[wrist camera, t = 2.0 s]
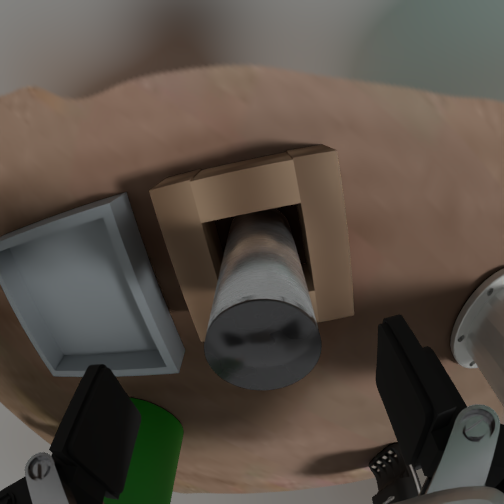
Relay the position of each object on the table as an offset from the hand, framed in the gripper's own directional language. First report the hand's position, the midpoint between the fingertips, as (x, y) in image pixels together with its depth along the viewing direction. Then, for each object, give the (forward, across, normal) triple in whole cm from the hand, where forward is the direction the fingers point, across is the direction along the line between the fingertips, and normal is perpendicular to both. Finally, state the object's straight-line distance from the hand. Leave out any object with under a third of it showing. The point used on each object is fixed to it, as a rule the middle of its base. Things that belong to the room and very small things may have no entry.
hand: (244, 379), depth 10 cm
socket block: (+14, -1, +1) cm, 14 cm away
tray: (+14, +15, +3) cm, 21 cm away
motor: (+14, +17, +21) cm, 30 cm away
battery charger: (+13, -12, +37) cm, 41 cm away
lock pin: (+14, -1, +1) cm, 14 cm away
